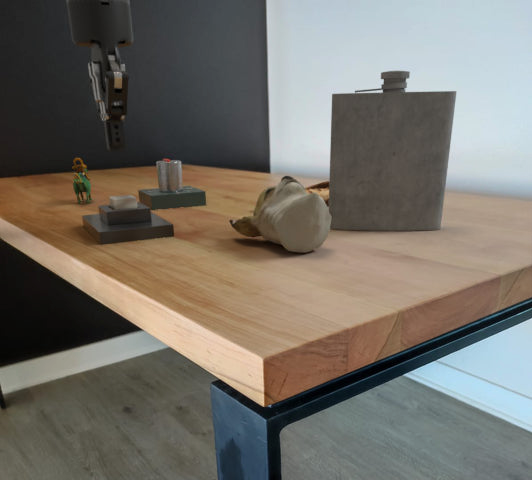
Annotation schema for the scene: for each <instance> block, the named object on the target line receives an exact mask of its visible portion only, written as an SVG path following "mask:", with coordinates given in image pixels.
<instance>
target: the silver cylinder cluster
mask: <svg viewBox="0 0 532 480" xmlns="http://www.w3.org/2000/svg"><path fill="white" fill-rule="evenodd" d="M155 164H156V174H157V176H156V177H157V184H158V188H159V191H161V192H176V191H182V190H183V186H184V181H183V169H182V161H181V160H178V159H169V158H162V160H157V161H156V162H155Z"/></svg>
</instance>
